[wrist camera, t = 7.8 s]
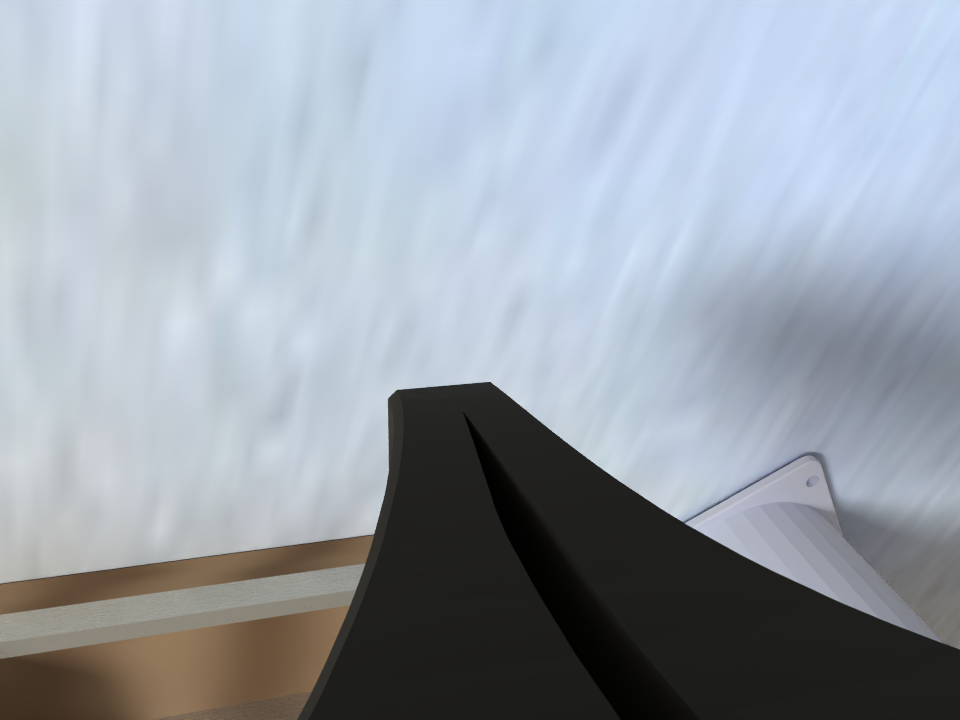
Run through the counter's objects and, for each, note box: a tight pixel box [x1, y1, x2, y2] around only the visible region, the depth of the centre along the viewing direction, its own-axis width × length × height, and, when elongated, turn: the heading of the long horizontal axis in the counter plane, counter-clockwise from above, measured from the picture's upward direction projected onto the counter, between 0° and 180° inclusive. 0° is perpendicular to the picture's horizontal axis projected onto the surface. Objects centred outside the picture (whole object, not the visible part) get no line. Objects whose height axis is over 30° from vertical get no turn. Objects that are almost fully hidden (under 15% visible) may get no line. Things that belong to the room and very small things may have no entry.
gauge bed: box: [0, 535, 374, 720], centre depth 24 cm, size 22×11×1 cm, turn 88°
